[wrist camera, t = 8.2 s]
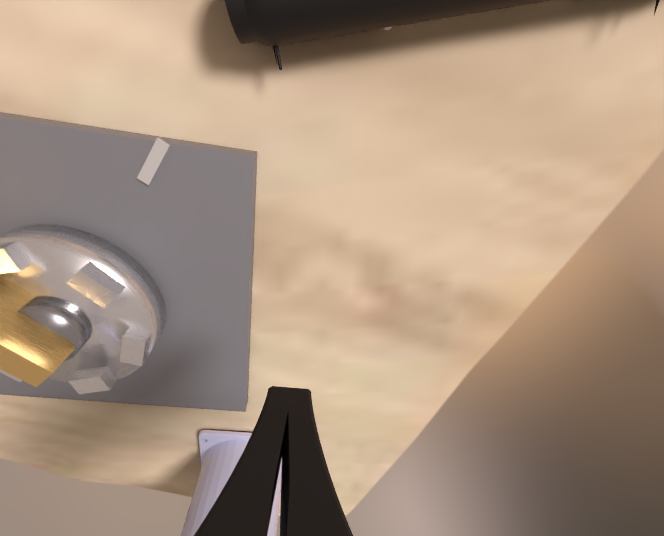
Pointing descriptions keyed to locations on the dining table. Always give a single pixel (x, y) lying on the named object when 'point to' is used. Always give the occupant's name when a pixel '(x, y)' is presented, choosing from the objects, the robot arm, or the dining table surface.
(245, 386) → the nut board
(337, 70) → the dining table surface
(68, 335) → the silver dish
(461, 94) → the dining table surface
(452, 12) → the door handle
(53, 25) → the dining table surface
